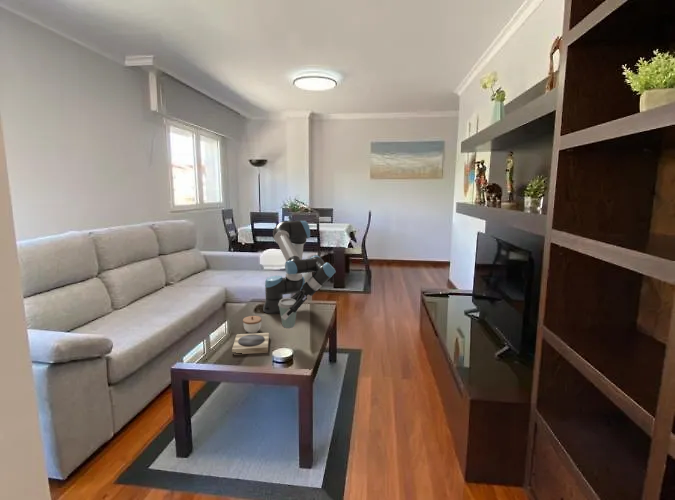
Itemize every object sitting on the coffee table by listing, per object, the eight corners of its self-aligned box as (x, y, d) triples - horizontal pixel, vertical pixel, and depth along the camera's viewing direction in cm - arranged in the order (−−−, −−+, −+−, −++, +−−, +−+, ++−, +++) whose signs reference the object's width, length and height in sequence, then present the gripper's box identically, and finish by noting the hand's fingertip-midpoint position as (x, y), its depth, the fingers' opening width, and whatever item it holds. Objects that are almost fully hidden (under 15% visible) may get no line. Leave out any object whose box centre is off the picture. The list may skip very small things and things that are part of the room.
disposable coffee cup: (301, 323, 201) (300, 298, 198) (293, 331, 191) (293, 305, 188) (283, 321, 204) (283, 296, 201) (275, 329, 194) (274, 302, 191)
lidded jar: (265, 329, 217) (264, 314, 215) (255, 336, 207) (255, 321, 206) (249, 326, 221) (249, 312, 219) (239, 333, 211) (239, 318, 209)
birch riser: (236, 339, 203) (236, 333, 203) (269, 337, 206) (268, 332, 205) (232, 354, 186) (232, 348, 185) (267, 352, 188) (267, 346, 188)
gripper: (318, 298, 184) (288, 327, 186) (314, 284, 207) (287, 310, 208) (308, 288, 183) (277, 318, 184) (305, 275, 205) (278, 302, 206)
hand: (283, 314), depth 196 cm, fingers closed on disposable coffee cup, 11 cm apart
